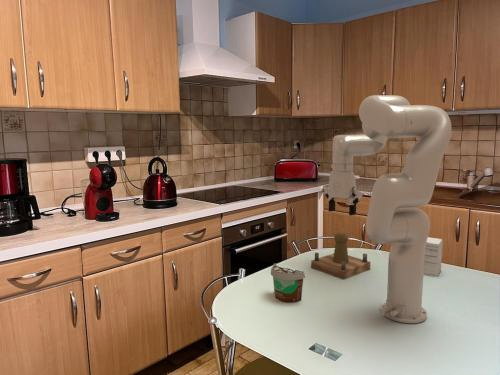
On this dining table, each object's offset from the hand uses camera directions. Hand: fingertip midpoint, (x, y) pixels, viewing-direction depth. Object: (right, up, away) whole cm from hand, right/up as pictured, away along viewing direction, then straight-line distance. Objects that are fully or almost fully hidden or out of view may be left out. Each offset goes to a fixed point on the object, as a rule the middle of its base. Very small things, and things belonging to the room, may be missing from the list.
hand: (341, 212), depth 150 cm
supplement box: (+32, -23, -2) cm, 39 cm away
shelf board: (0, -22, +3) cm, 22 cm away
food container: (-24, -27, -23) cm, 43 cm away
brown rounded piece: (0, -19, +3) cm, 19 cm away
